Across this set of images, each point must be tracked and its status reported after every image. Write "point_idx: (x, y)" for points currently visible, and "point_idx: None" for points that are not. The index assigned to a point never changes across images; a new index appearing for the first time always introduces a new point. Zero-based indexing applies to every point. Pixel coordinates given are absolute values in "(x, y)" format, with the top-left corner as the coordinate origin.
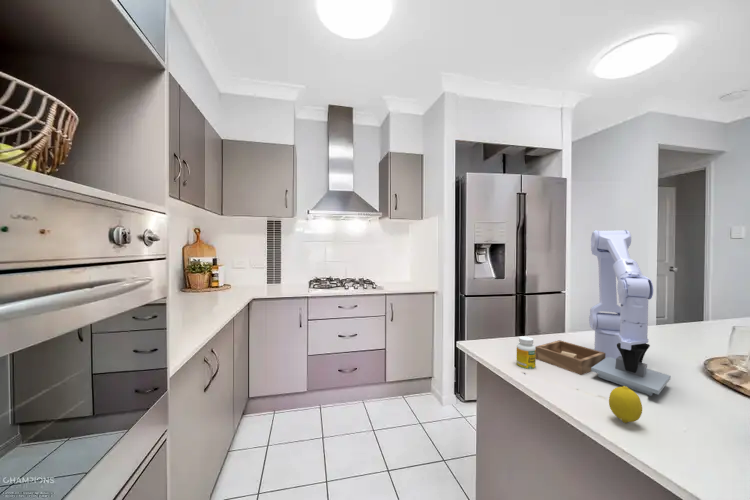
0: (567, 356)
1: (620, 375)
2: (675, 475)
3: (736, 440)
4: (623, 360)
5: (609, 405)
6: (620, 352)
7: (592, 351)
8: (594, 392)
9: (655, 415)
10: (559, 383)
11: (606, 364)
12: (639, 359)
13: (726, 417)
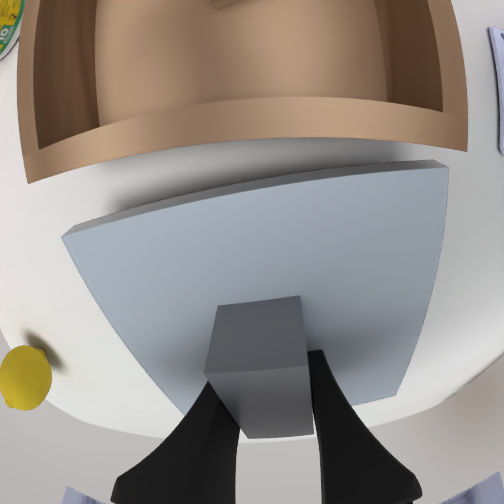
0: (22, 75)
1: (151, 345)
2: None
3: None
4: (190, 409)
5: (11, 350)
6: (148, 455)
7: (430, 43)
8: (57, 264)
9: (122, 381)
10: (5, 169)
11: (227, 248)
12: (233, 465)
13: None
